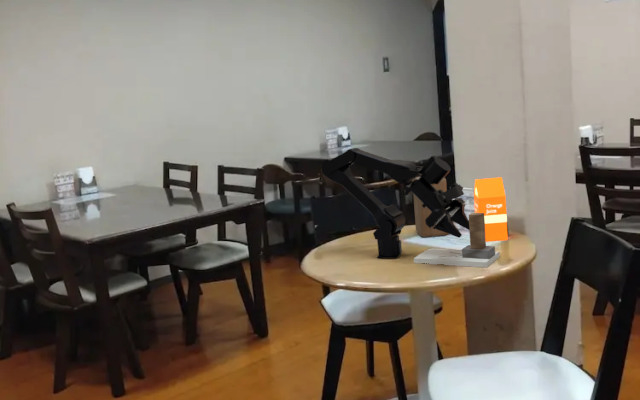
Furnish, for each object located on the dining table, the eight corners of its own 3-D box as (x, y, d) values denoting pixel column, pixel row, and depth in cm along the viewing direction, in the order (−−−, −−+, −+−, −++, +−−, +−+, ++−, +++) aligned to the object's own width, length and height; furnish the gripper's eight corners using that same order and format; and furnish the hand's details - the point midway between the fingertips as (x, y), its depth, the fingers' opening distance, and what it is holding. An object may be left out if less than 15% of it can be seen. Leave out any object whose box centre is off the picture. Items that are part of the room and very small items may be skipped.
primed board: (414, 263, 199) (413, 257, 198) (429, 252, 209) (429, 248, 208) (486, 267, 187) (486, 262, 187) (499, 256, 197) (499, 251, 197)
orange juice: (475, 237, 224) (472, 178, 221) (502, 234, 223) (499, 175, 220) (480, 242, 216) (477, 181, 213) (508, 240, 216) (505, 178, 212)
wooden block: (415, 232, 239) (411, 177, 236) (443, 229, 240) (439, 174, 236) (421, 238, 229) (417, 180, 226) (450, 235, 230) (446, 177, 227)
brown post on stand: (462, 257, 194) (459, 215, 192) (468, 253, 198) (466, 211, 196) (489, 259, 190) (486, 216, 188) (495, 254, 194) (492, 212, 192)
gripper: (433, 181, 187) (473, 221, 183) (456, 171, 203) (494, 207, 198) (409, 208, 193) (447, 247, 188) (434, 196, 208) (470, 232, 204)
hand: (466, 232), depth 195 cm, fingers open, 9 cm apart
